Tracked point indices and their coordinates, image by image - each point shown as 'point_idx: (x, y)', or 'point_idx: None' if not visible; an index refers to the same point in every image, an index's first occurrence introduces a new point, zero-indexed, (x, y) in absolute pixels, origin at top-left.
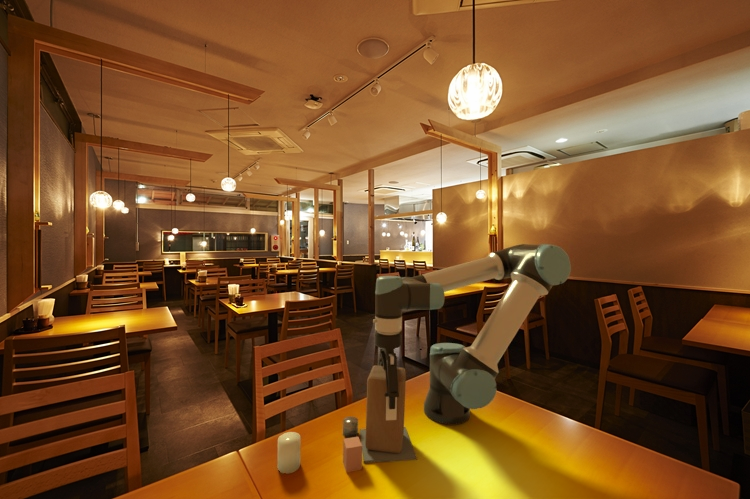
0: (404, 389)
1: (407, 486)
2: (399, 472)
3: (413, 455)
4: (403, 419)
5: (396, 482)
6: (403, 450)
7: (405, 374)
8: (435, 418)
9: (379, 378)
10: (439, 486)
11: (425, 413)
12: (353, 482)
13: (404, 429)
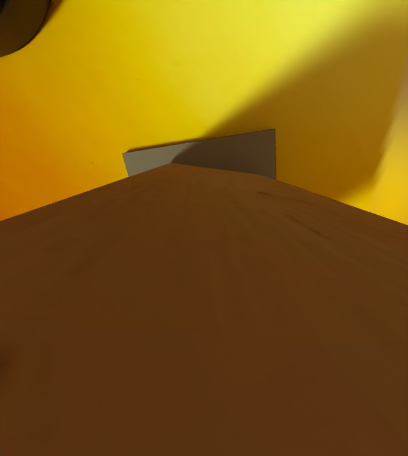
0: (330, 226)
1: (363, 164)
2: (315, 181)
3: (266, 138)
4: (236, 177)
5: (345, 190)
6: (243, 167)
7: (167, 329)
8: (37, 5)
9: None
10: (384, 72)
11: (1, 54)
12: None
13: (137, 157)
